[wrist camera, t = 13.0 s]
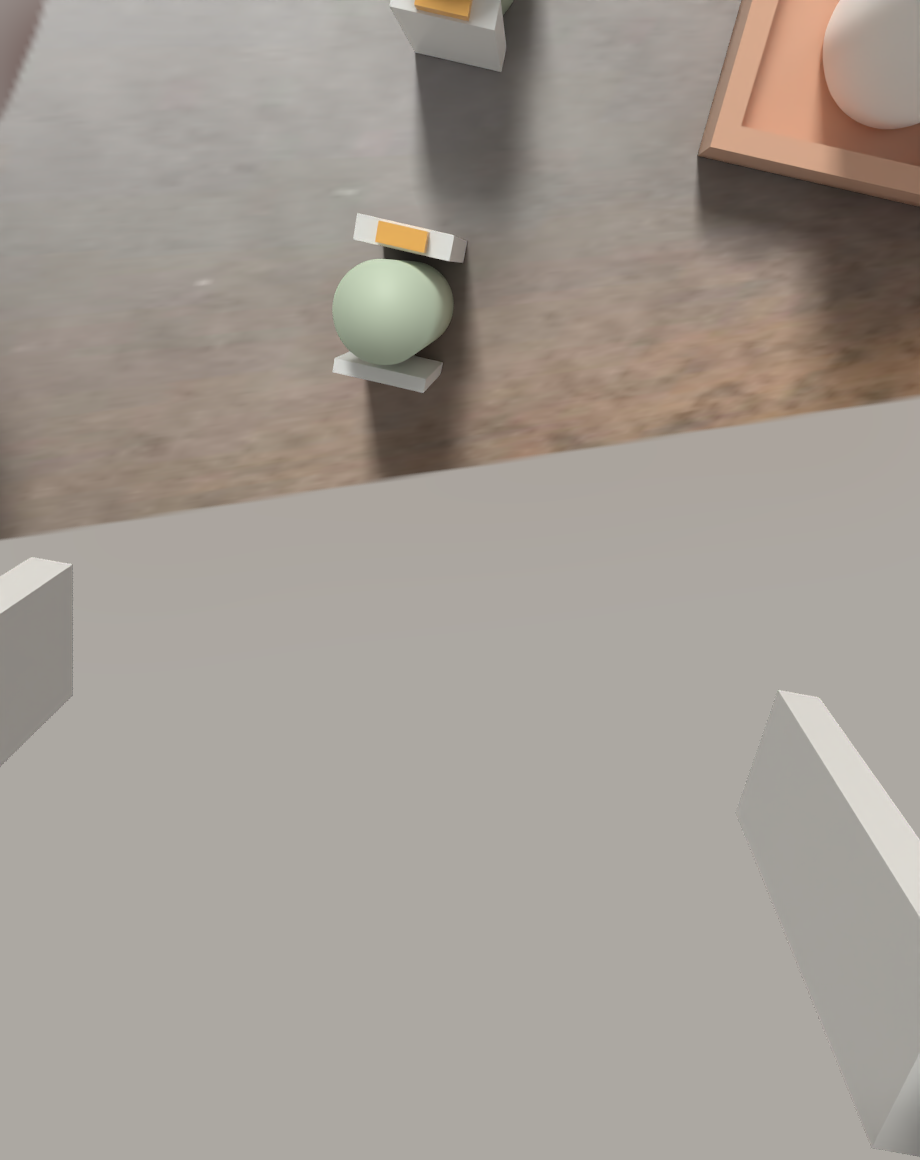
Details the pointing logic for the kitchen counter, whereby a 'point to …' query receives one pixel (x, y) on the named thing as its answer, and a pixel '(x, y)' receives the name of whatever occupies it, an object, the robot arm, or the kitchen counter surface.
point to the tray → (800, 109)
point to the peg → (391, 309)
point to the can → (875, 61)
